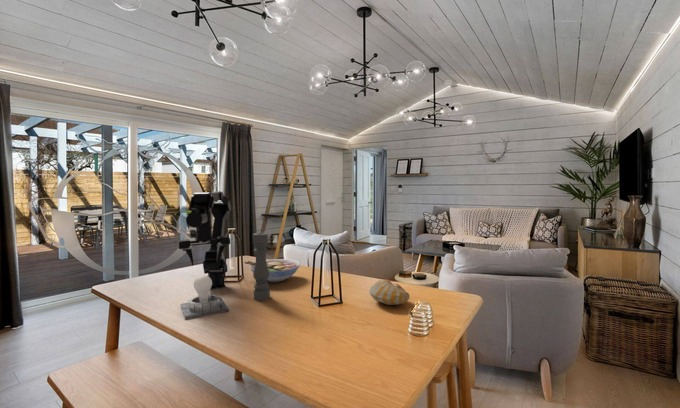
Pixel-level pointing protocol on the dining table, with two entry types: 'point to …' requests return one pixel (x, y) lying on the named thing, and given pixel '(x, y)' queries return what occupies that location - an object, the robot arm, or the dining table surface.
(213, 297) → the bulb socket
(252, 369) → the dining table surface
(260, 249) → the candle holder
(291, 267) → the ramen bowl
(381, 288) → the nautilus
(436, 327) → the dining table surface
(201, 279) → the lightbulb
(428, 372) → the dining table surface
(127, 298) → the dining table surface
